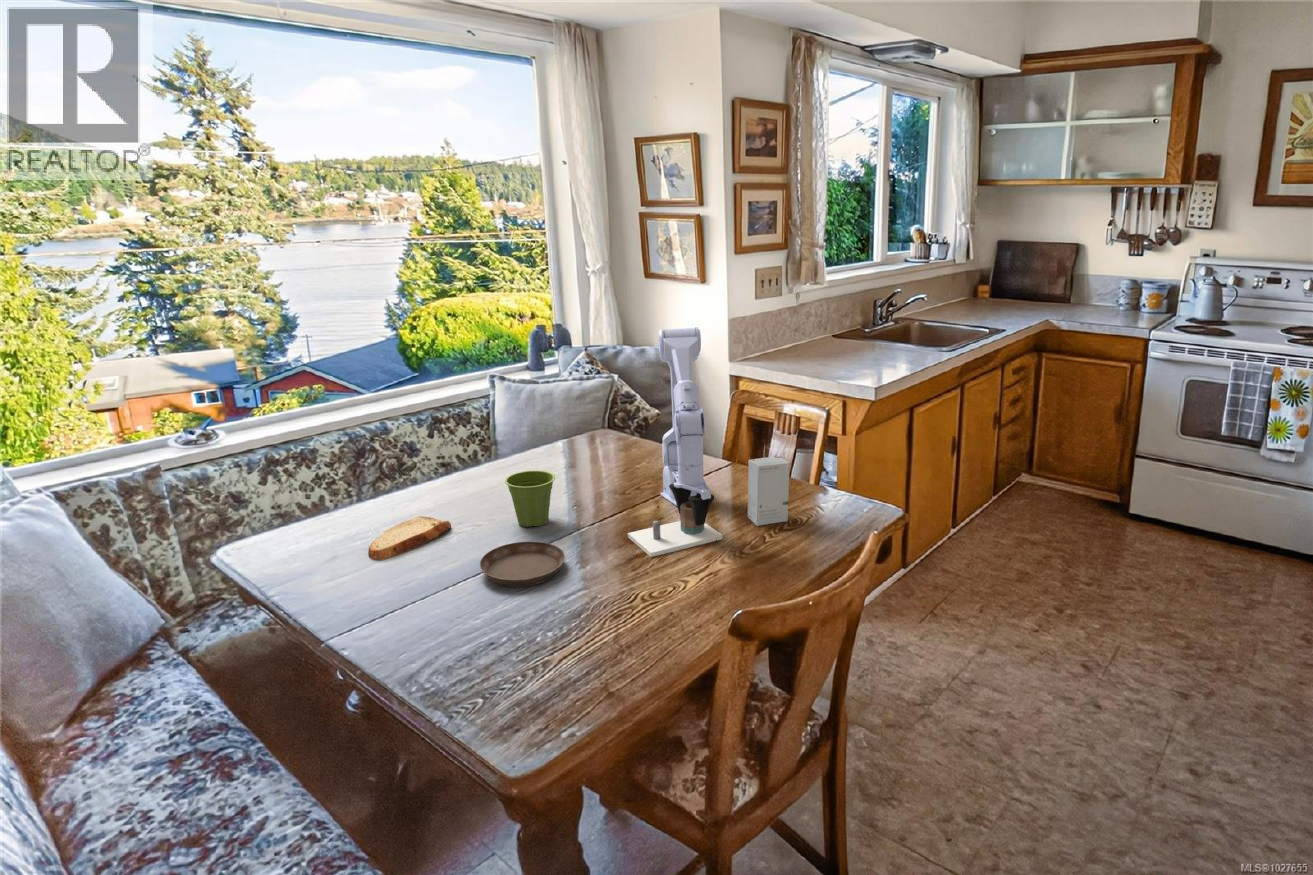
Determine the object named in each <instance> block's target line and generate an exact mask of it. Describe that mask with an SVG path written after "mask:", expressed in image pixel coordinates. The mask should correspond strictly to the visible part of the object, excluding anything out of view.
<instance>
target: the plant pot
mask: <svg viewBox="0 0 1313 875" xmlns="http://www.w3.org/2000/svg"><path fill="white" fill-rule="evenodd" d="M555 479H556V476H555V474H553V473H552V472H550V471H546V470H537V469H536V470H525V471H519V472H515V473H513V474H511V475H508V476H507V477H506V478H505V479H504V483H505V484H506V486H507V487H508V491H509V493H510V496H511V501H512V502H513V507H514V512H515V517H516V519H517V523H518V524H519V525H520V526H522V527H525V528H531V527H534V526H535V527H540V526H543V525H545V524H547V523H548V521H549V515H550V514H549V513H550V505H551V497H552V496H551V495H552V490H553V484H554V481H555Z"/></svg>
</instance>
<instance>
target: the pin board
mask: <svg viewBox="0 0 1313 875" xmlns="http://www.w3.org/2000/svg"><path fill="white" fill-rule="evenodd" d="M723 536H724V535H723V534H722V533H720V532H719V531H718V530H716V529H715V528H713V527H712V526H710V525H709V524H707V523H706V522H705V524H704V530H703V532H702V533H698V534H694V535H693V534H685V533H684V532H682V531H681V520H678V521H673V522H670V523H665V524H662V525H661V521H660V520H654V521H652V527H648V528H644V529H643V528H642V529H639V530H635V531H631V532H627V538H628V539H630V540H631V541H632V543H634V544H635V545H637V546H638V547H639V548H640V549H641V550H642V551H643V552H644V553H646V554H647V555H648V556H649V557H650V558H653V557H657V556H661V555H664V554H670V553H673V552H677V551H681V550H685V549H689V548H692V547H697V546H701V545H704V544H709V543H713V542H717V541H720V540H723ZM716 540H717V541H716Z"/></svg>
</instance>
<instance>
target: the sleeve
mask: <svg viewBox="0 0 1313 875" xmlns="http://www.w3.org/2000/svg"><path fill="white" fill-rule="evenodd" d="M679 514H680V518H679V519H680V520H679V521H681V531H682V532H684V533H685V534H693V535H694V534H698V533H702V532H703V530H704V524H703V525H699V526H696V525H695V522H694V515H693V509H692V506H691V503H690V501H689V502H684V503H682V504H681V506H680V513H679Z"/></svg>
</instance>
